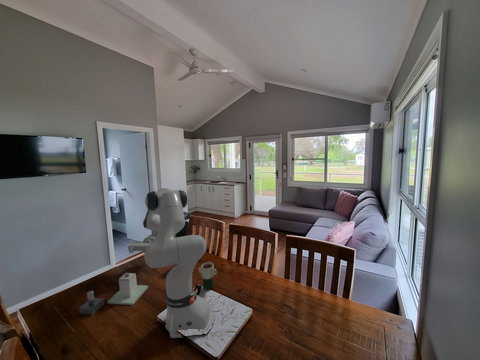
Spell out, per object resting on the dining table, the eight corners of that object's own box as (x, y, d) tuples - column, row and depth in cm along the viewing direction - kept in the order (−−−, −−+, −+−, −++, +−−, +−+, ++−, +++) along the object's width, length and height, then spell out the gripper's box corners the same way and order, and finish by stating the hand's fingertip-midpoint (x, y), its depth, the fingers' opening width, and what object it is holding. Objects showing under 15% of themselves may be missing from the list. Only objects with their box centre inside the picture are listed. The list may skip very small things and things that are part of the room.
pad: (148, 287, 116) (148, 285, 115) (132, 305, 102) (132, 303, 102) (125, 286, 117) (125, 284, 117) (107, 303, 103) (107, 301, 103)
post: (104, 304, 103) (102, 287, 102) (92, 314, 96) (90, 297, 95) (91, 303, 104) (89, 287, 103) (79, 313, 97) (77, 296, 96)
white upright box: (137, 289, 112) (135, 271, 111) (130, 297, 106) (128, 277, 105) (127, 289, 113) (125, 271, 111) (120, 296, 107) (118, 277, 106)
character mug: (219, 284, 117) (218, 263, 115) (215, 292, 110) (214, 269, 108) (202, 281, 119) (201, 261, 118) (196, 289, 112) (195, 267, 111)
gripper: (135, 238, 134) (120, 246, 120) (164, 238, 131) (152, 247, 118) (136, 247, 134) (121, 256, 121) (165, 247, 132) (153, 257, 118)
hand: (137, 252), depth 119 cm, fingers open, 8 cm apart
